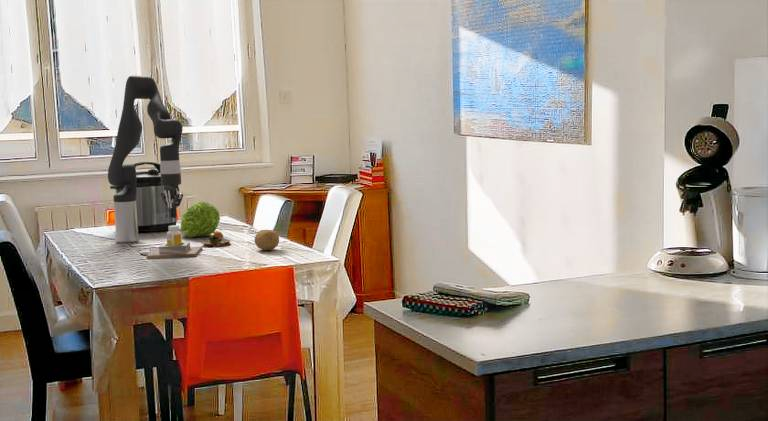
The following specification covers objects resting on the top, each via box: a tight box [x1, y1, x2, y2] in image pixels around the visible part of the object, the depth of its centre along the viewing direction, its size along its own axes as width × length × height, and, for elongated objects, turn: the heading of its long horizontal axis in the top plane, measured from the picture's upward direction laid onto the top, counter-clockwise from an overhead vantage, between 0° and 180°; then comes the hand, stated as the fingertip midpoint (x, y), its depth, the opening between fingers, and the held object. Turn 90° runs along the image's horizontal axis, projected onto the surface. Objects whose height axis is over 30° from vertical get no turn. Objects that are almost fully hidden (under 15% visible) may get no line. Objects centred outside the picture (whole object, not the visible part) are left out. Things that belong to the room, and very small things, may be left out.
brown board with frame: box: [146, 241, 203, 260], centre depth 346 cm, size 18×18×4 cm
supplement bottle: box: [166, 224, 182, 246], centre depth 345 cm, size 5×5×10 cm
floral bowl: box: [201, 228, 231, 248], centre depth 366 cm, size 12×12×8 cm
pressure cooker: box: [109, 161, 178, 232], centre depth 420 cm, size 30×28×32 cm
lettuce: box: [180, 201, 221, 238], centre depth 395 cm, size 15×25×16 cm
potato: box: [254, 229, 280, 251], centre depth 349 cm, size 10×14×8 cm
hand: (173, 217), depth 344 cm, fingers closed
